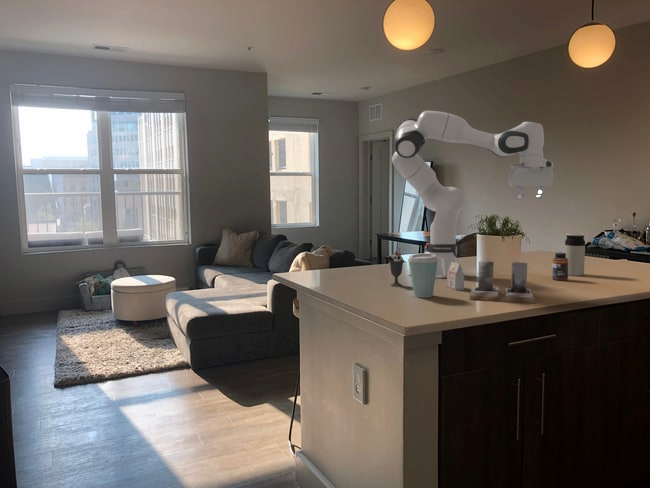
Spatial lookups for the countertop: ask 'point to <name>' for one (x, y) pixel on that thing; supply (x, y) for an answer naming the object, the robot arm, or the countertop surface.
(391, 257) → the sundae
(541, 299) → the countertop surface
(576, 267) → the travel mug
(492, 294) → the board
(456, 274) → the milk carton
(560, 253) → the supplement bottle
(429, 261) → the disposable coffee cup
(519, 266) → the loose pin
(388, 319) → the countertop surface
